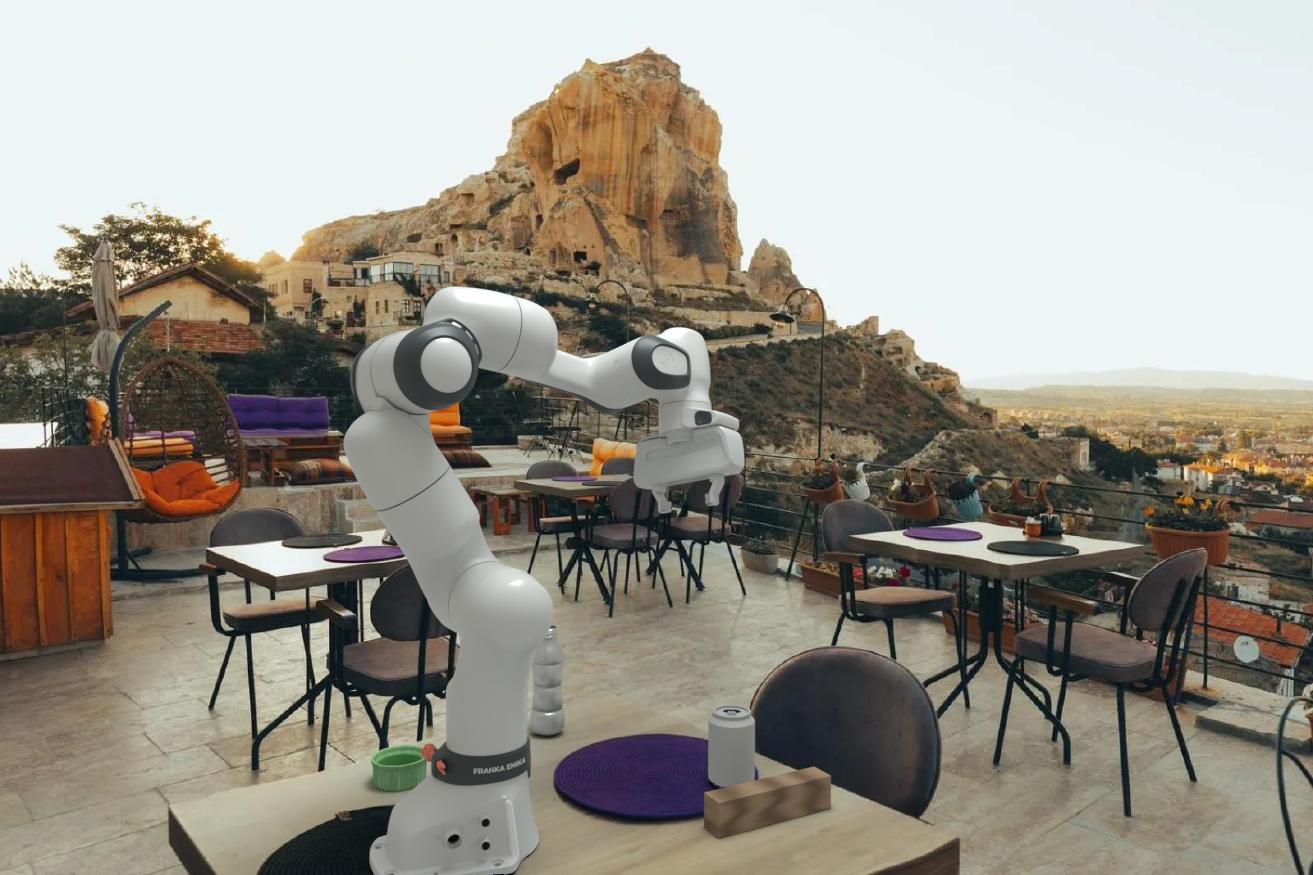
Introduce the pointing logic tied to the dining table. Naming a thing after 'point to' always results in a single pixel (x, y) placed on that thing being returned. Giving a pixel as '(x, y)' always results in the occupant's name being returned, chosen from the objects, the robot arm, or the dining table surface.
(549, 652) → the plastic bottle
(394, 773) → the ramekin
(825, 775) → the wooden block
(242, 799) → the dining table surface
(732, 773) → the can
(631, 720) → the dining table surface
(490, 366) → the robot arm
